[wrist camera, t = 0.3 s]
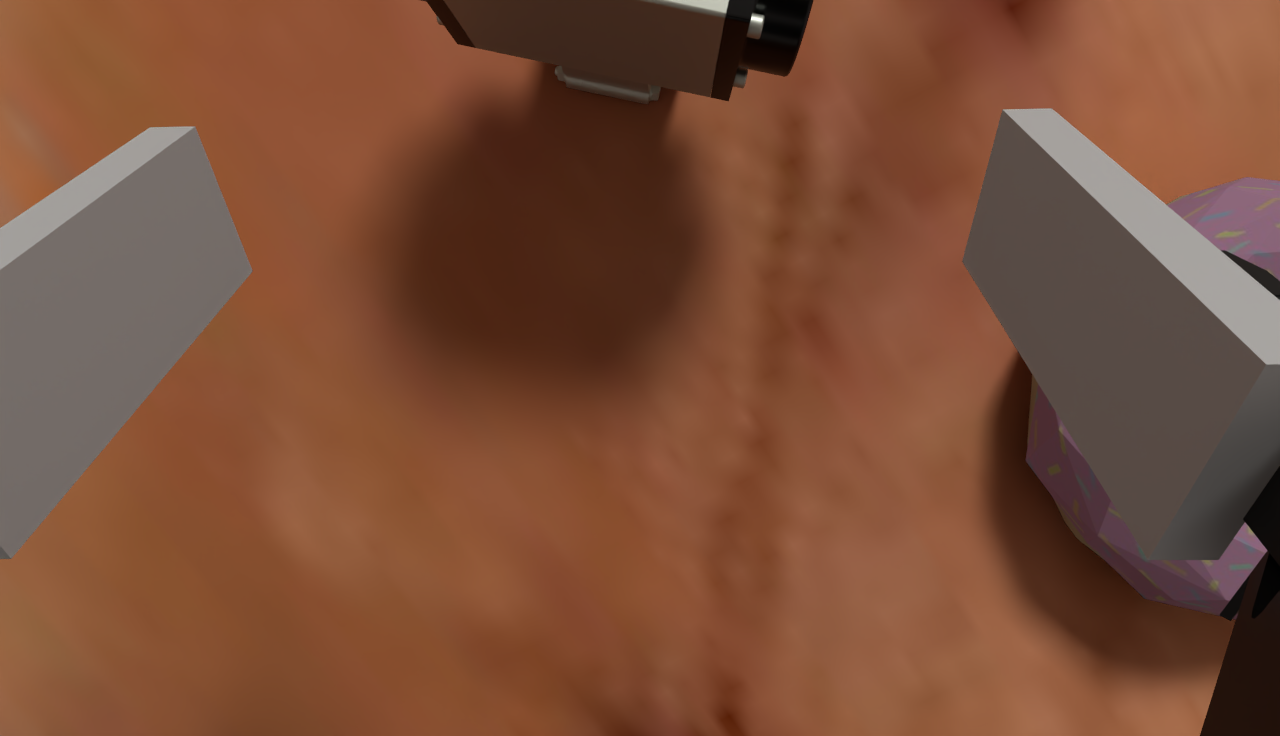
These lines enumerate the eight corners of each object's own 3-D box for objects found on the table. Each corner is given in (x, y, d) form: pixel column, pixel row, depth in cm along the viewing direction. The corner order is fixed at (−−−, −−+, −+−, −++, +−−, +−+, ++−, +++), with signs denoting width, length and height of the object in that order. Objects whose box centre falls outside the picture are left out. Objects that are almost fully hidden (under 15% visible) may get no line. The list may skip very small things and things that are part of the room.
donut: (926, 329, 29) (980, 329, 24) (1282, 113, 28) (1415, 66, 23) (1133, 669, 29) (1229, 738, 24) (1490, 465, 28) (1666, 494, 23)
